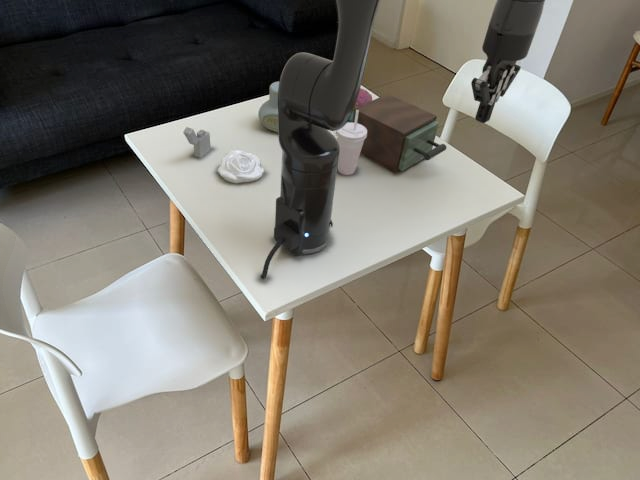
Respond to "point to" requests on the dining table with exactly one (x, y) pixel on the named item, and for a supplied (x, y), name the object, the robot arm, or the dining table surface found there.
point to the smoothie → (350, 145)
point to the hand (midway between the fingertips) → (481, 120)
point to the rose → (240, 167)
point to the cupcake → (362, 100)
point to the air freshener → (270, 109)
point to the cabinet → (389, 128)
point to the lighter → (198, 141)
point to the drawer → (420, 146)
